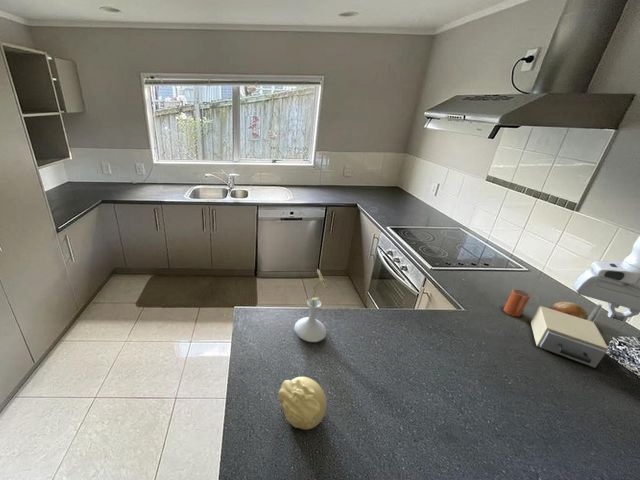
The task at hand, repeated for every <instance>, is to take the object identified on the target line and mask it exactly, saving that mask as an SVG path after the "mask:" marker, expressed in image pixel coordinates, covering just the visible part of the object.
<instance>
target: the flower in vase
mask: <svg viewBox="0 0 640 480" xmlns="http://www.w3.org/2000/svg"><path fill="white" fill-rule="evenodd" d="M316 272H317V275H318V277H319V280H318V281H317V283H316V284H315V286H312V291H313V293H312V295H313V296H312V298H308V299H307V300H306V304H307V305H308V308H309V312H308V313H309V314H308V317H307V316H306V317H302V318H300V319H298V320H297V321H296V322H295V324H294V332H295V334H296V335H297V336H298V337H299V338H300V339H301V340H303V341H306V342H308V343H318V342H321V341H322V340H324V339H325V337H326V336H327V329H326V327H325V325H324V324H323V323H322V322H321V321H320V320H318V319H317V318H316V315H317V312H318V309H320V308H321V306H322V302H321V301H320V300H319V299H320V297H319V296H316V297H315V294H317V293H316V292H317V291H316V288H317V286H318V285H319V283H322V285H323V287H324V289H325V290H326V292H329V286H328V285H327V282H326V280H325V278H324V277H323V274H322V273H321V270H320V269H316Z"/></svg>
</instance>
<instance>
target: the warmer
mask: <svg viewBox="0 0 640 480" xmlns="http://www.w3.org/2000/svg"><path fill="white" fill-rule="evenodd" d="M530 325H531V330H532V334H533V337H534V342H535V345H536V347H537V348H540V349H544V348H541V347H540V344H541V342H542V341H543V339H544V337H545V335H546V334H547V332H548V331H552V332H555V333H558V334H561V335H564V336H566V337H569V338H572V339H575V340H578V341H581V342H584V343H587V344H590V345H593V346H596V347H599V348H600V349H603V350H605V354H604V355H603V357H604V356H605V355H606V353H607V352H608V350H609V347H608V345H607V344H606V342H605V340H604V338H603V336H602V334H601V332H600V330H599V329H598V327H597V325H596V323H595V321H594V322H591V321H588V320H585V319H582V318H578V317H575V316H572V315H569V314H565V313H562V312H559V311H556V310H553V309H552V308H550V307H546V306H543V305H539V306H538V308H537V310H536V312H535V314H534V316H533V317H532V319H531V321H530ZM544 350H546V351H548V352H551V353H554V354H557V353H555V352H552V351H549V350H547V349H544ZM557 355H559V356H562V357H565V358H568V357H566V356H563V355H560V354H557ZM603 357H602V358H601V360H602V359H603ZM568 359H570V360H572V361H575V362H577V363H581V364H584V363H582V362H579V361H576V360H574V359H571V358H568ZM601 360H600V361H599V362H598V364H599V363H600V362H601ZM598 364H597V365H596V367H597V366H598ZM584 365H586V366H589V367H591V368H593V369H595V368H596V367H593V366H590V365H587V364H584Z"/></svg>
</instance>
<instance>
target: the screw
mask: <svg viewBox="0 0 640 480" xmlns="http://www.w3.org/2000/svg"><path fill="white" fill-rule="evenodd" d="M602 308H603V305H602V304H599V303H598V305H596V306H595V308H593V309H592V311H591V313H590V314H589V315H588V318H587V320H588V321H591V322H594V323H595V321H596V319H597V318H598V316H599V315H600V313H601V311H602Z"/></svg>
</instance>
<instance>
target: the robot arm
mask: <svg viewBox="0 0 640 480" xmlns="http://www.w3.org/2000/svg"><path fill="white" fill-rule="evenodd" d="M573 289H574V291H575V292H576V293H577V295H581V296H584V297H587V298H590V299H595V300H598V301H600V302H605V303H607V305H608V308H609V311H608V313H607V316H608V318H610V319H614V320H616V321H620V322H624V323H626V321H627V320H628V319H629V318H632V317H635V316H638V315H640V235H639V236H638V237H637V239H636V240H635V242H634V243H633V245H632V250H631V252H630V254H629V255H627V256H626V257H624V259H623V261H607V260H605V261H604V260H594V261H593V262H592V263H591V268H589V269H586V270H584V271H583V272H582V273H581V274H580V276H578V278H577V279H576V281H575V282H574V284H573ZM620 307H622V308H626V309H628V310H626V311H624V312H620V311H616V309H619V308H620Z"/></svg>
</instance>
